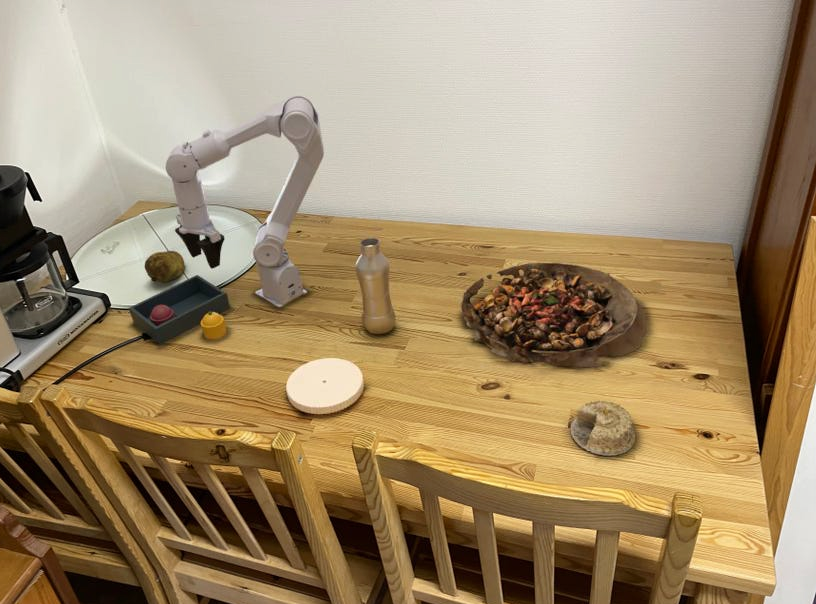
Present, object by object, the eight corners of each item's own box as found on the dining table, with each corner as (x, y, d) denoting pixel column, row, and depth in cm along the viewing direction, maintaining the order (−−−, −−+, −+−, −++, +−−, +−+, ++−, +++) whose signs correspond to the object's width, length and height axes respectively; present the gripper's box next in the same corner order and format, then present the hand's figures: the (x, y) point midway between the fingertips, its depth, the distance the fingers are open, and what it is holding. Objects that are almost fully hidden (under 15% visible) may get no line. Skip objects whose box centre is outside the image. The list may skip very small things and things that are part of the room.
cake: (616, 410, 121) (622, 385, 118) (646, 452, 112) (653, 426, 109) (559, 418, 120) (564, 393, 117) (585, 461, 111) (590, 435, 108)
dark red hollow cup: (180, 324, 156) (175, 305, 153) (160, 335, 154) (154, 315, 151) (169, 316, 159) (163, 297, 157) (149, 326, 157) (143, 307, 154)
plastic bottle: (394, 338, 144) (384, 250, 133) (360, 338, 145) (348, 250, 134) (398, 320, 149) (390, 233, 138) (366, 319, 150) (355, 234, 139)
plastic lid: (340, 426, 124) (338, 415, 123) (273, 406, 131) (271, 396, 129) (377, 378, 134) (376, 367, 133) (313, 361, 141) (311, 351, 139)
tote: (230, 310, 160) (226, 292, 157) (161, 347, 151) (155, 329, 148) (201, 291, 168) (197, 274, 165) (134, 325, 159) (128, 307, 157)
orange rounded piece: (231, 333, 152) (225, 311, 149) (212, 344, 150) (205, 321, 146) (219, 325, 155) (213, 303, 152) (200, 335, 153) (193, 313, 150)
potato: (200, 267, 178) (192, 238, 173) (167, 294, 169) (158, 265, 164) (173, 262, 181) (165, 234, 177) (140, 289, 172) (130, 260, 168)
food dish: (440, 357, 139) (436, 323, 134) (488, 272, 163) (486, 241, 159) (635, 386, 124) (638, 349, 120) (656, 288, 148) (659, 254, 144)
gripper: (158, 201, 153) (173, 257, 161) (193, 220, 144) (208, 279, 151) (186, 190, 157) (200, 245, 165) (223, 208, 148) (235, 265, 155)
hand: (205, 260), depth 158 cm, fingers open, 7 cm apart
